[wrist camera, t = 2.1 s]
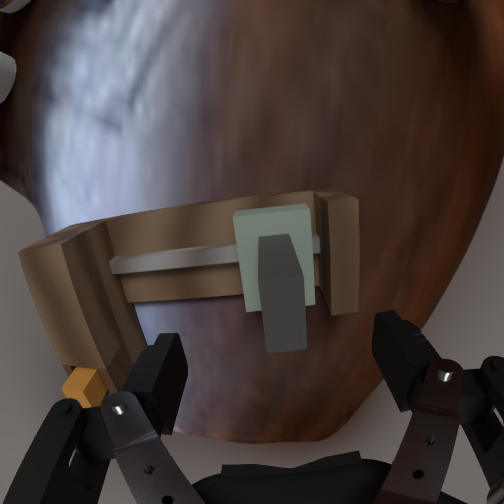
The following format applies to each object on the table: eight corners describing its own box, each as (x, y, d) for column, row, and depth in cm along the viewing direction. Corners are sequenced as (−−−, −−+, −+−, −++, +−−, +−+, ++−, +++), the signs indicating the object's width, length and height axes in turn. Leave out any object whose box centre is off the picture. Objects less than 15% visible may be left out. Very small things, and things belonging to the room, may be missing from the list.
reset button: (103, 358, 22) (82, 391, 18) (113, 379, 23) (95, 412, 19) (83, 357, 22) (61, 388, 18) (93, 377, 23) (73, 408, 19)
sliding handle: (302, 199, 22) (336, 239, 12) (307, 283, 25) (335, 366, 14) (236, 206, 23) (218, 252, 13) (248, 289, 25) (241, 376, 15)
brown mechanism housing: (335, 188, 23) (369, 205, 16) (337, 341, 28) (357, 397, 20) (70, 225, 25) (17, 252, 17) (112, 354, 30) (83, 401, 22)
